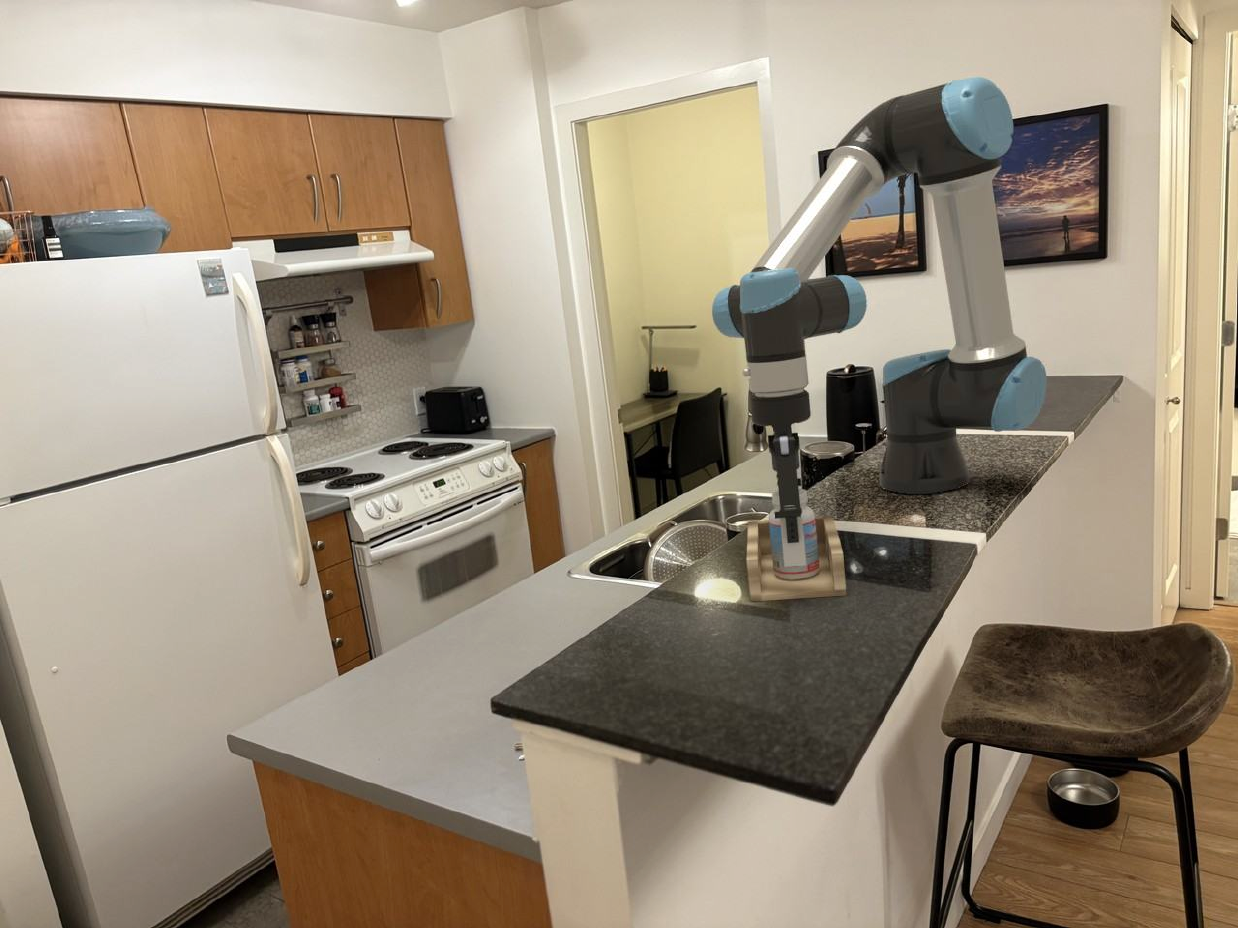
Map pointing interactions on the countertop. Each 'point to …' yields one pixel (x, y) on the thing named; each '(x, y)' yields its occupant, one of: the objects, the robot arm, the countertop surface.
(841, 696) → the countertop surface
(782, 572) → the pill bottle
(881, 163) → the robot arm
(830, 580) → the cradle
